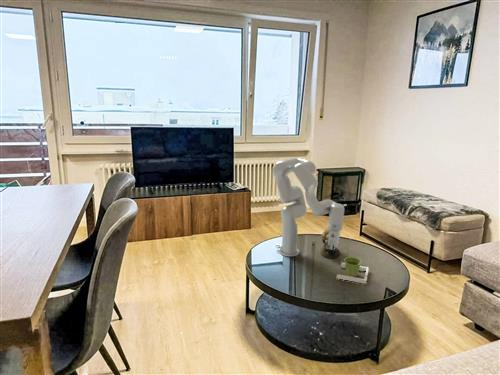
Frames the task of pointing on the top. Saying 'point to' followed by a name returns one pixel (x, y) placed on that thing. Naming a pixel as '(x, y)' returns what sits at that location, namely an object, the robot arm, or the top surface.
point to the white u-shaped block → (354, 277)
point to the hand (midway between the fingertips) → (331, 255)
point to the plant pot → (352, 266)
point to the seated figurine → (326, 248)
